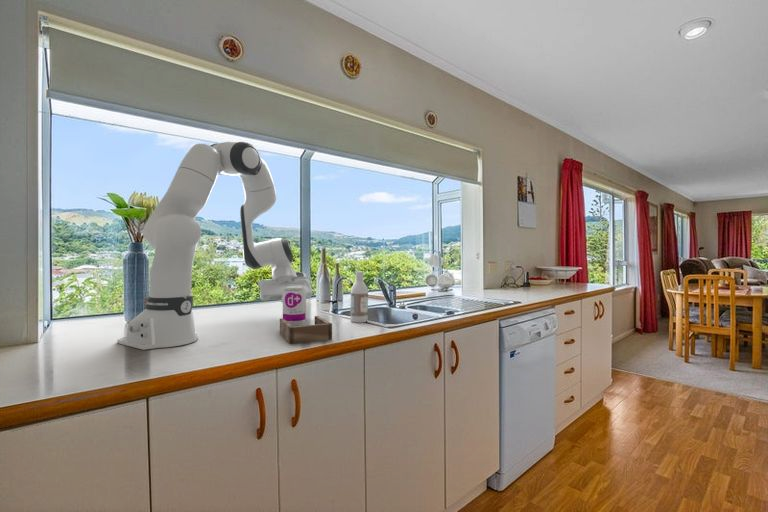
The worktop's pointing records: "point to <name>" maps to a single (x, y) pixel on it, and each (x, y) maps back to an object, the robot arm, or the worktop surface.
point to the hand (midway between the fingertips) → (289, 306)
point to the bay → (306, 331)
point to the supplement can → (294, 305)
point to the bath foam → (359, 300)
